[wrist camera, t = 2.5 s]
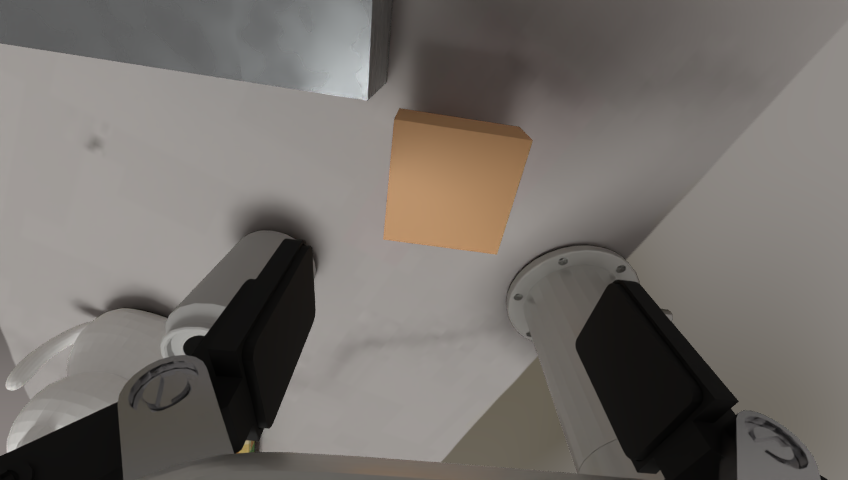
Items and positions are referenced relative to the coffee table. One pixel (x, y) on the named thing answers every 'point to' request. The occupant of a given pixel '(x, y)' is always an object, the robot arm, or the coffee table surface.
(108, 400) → the cat figurine
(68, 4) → the grey square socket block
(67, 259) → the coffee table surface
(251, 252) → the can
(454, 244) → the tan cardboard box
